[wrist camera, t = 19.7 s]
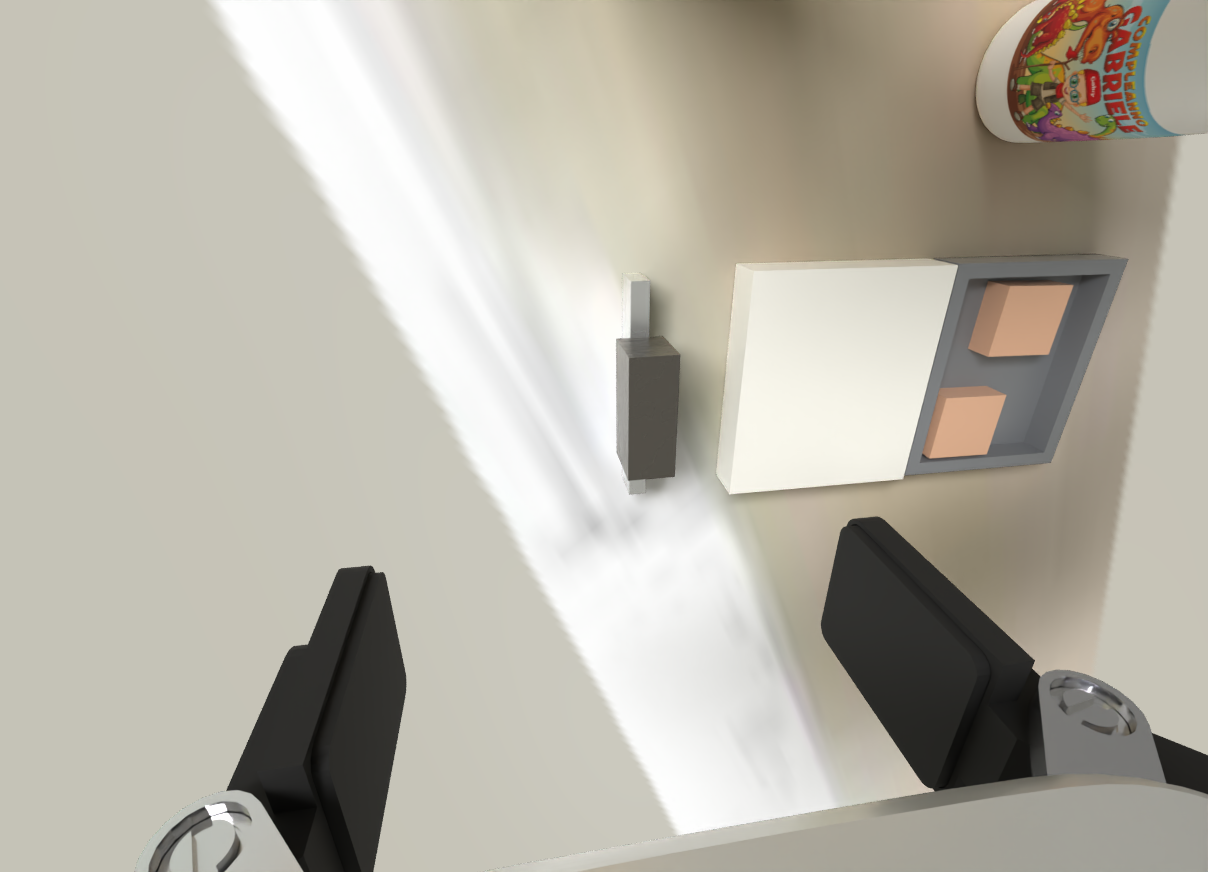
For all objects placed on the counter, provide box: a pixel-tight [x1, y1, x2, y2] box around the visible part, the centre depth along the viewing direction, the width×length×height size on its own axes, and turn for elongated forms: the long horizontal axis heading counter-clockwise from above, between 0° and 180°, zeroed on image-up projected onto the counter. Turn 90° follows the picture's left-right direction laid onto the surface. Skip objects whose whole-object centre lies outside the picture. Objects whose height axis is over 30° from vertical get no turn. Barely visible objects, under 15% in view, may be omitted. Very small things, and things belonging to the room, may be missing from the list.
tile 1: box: [922, 386, 1006, 458], centre depth 44 cm, size 5×5×2 cm
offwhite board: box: [716, 258, 958, 494], centre depth 41 cm, size 16×14×3 cm
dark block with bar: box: [616, 273, 680, 495], centre depth 37 cm, size 15×3×7 cm, turn 1°
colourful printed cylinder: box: [976, 0, 1208, 143], centre depth 27 cm, size 8×8×20 cm
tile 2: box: [968, 280, 1073, 357], centre depth 41 cm, size 5×5×2 cm
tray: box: [904, 254, 1128, 475], centre depth 43 cm, size 16×13×2 cm
